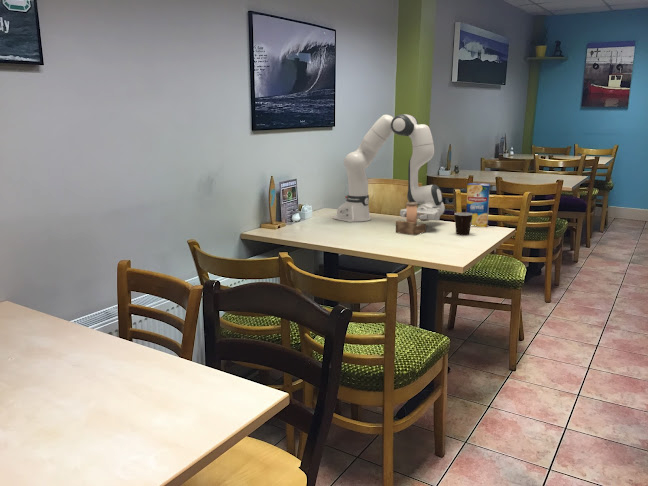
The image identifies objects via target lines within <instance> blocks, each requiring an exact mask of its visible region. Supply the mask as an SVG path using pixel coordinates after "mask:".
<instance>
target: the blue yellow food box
mask: <svg viewBox="0 0 648 486" xmlns="http://www.w3.org/2000/svg"><path fill="white" fill-rule="evenodd" d="M490 187H491V183H483V182H482V183H478V182H476V183H475V182H473V183H472V182H470V183H467V188H466V189H467V190H466V191H467V192H466V208H465V209H466V210H465V213H471V214H473V215H472V221H471V225H476V226H478V228H488V225H489V209H490V208H489V205H490V191H491V190H490Z"/></svg>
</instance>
